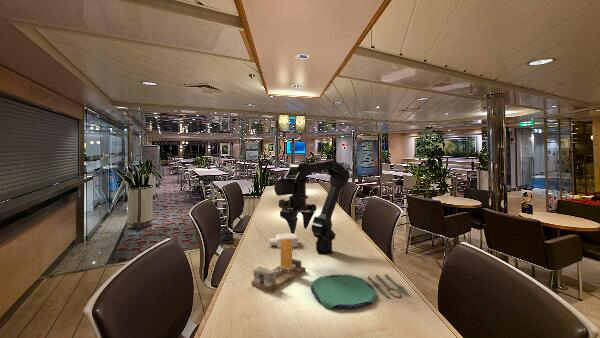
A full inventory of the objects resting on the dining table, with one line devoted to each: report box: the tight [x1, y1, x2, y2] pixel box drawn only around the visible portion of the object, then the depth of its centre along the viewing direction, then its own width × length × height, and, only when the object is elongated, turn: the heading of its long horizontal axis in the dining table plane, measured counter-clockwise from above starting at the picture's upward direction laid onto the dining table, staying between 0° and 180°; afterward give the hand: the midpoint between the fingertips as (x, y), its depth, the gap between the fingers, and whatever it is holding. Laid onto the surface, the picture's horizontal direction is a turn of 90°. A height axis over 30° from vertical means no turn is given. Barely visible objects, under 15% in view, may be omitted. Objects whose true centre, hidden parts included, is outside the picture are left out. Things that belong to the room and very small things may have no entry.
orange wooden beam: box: [275, 238, 296, 276], centre depth 97 cm, size 11×5×11 cm, turn 145°
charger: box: [265, 232, 299, 249], centre depth 133 cm, size 5×9×15 cm
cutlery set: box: [310, 273, 412, 310], centre depth 87 cm, size 20×30×2 cm, turn 101°
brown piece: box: [251, 258, 306, 293], centre depth 97 cm, size 19×9×6 cm, turn 146°
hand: (299, 230), depth 113 cm, fingers open, 9 cm apart
